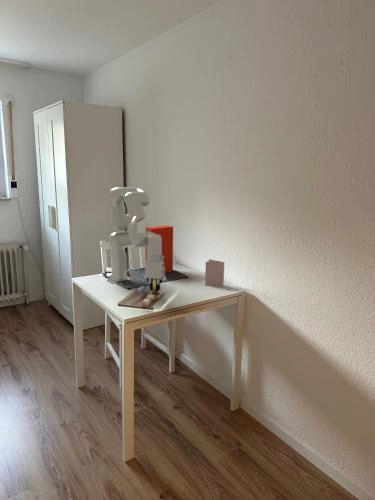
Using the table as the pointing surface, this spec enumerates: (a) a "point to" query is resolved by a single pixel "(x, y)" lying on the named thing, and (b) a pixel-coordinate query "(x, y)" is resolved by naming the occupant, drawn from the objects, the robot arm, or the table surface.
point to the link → (151, 298)
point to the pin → (154, 286)
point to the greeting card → (214, 273)
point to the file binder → (164, 244)
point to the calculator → (109, 270)
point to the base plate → (138, 300)
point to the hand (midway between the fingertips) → (154, 290)
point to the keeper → (142, 290)
